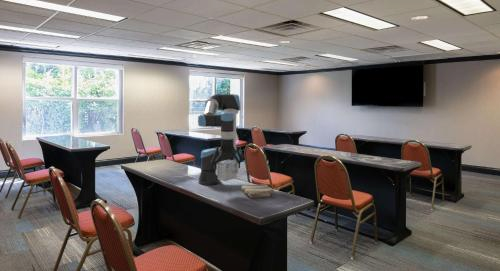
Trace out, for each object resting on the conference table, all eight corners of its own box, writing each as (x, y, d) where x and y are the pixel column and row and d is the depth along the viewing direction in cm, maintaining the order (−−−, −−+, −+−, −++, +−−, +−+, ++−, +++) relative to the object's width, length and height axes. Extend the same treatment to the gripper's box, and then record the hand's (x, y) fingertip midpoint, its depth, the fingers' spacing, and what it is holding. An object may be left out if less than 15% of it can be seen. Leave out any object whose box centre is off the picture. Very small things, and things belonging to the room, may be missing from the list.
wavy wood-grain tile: (240, 191, 210) (240, 185, 209) (264, 190, 215) (264, 183, 214) (248, 199, 194) (249, 192, 194) (274, 197, 199) (274, 190, 199)
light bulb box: (228, 176, 208) (228, 159, 207) (237, 178, 204) (237, 160, 203) (217, 179, 200) (217, 161, 198) (225, 181, 196) (225, 163, 194)
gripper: (208, 139, 192) (208, 176, 194) (248, 138, 199) (248, 174, 202) (205, 138, 199) (206, 173, 201) (244, 137, 206) (244, 171, 209)
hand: (227, 174), depth 202 cm, fingers closed on light bulb box, 12 cm apart
